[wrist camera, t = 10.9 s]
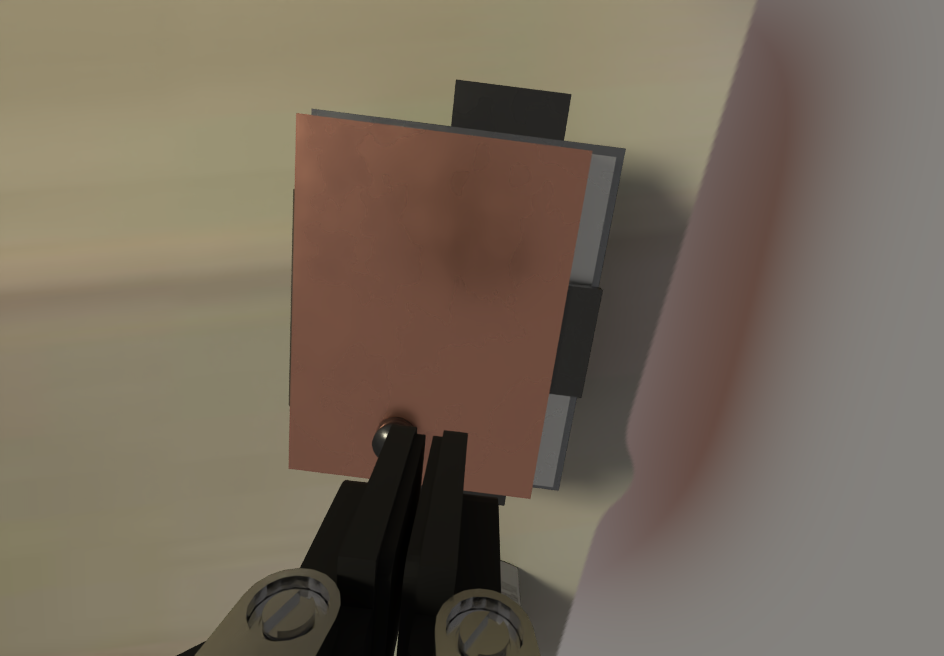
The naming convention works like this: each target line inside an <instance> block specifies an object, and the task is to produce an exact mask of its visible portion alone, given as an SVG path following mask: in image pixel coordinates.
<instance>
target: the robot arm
mask: <svg viewBox="0 0 944 656" xmlns="http://www.w3.org/2000/svg"><path fill="white" fill-rule="evenodd" d="M425 441H426V435H424V434H417V427H413V426H404V425H395V424H392V425H391V427H390V430H389V432H388V435H387V437H386V440H385V442H384V445H383V447H382V450H381V452H380V454H379V457H378V459H377V462H376V464H375V467H374V469H373V472H372V474H371V476H370V479H369V481H368V483H367V482H358V481H349V480H345V481H343V483H342V484H341V486H340V488H339V490H338V492H337V494H336V496H335V498H334V500H333V502H332V504H331V506H330V508H329V510H328V512H327V514H326V516H325V518H324V520H323V522H322V524H321V526H320V528H319V530H318V532H317V535H316V537H315V539H314V541H313V543H312V545H311V547H310V549H309V551H308V553H307V555H306V557H305V559H304V561H303V563H302V565H301V567H300V568H295V569H287V570H282V571H279V572H277V573H274V574H271V575H268V576H267V577H265V578H263V579H262V580H260V581H258V582H257V583H255V584H254V585H253V586H252V587H251V588H250V589H249V590H248V591H247V592H246V593H245V594H244V595H243V596H242V597H241V598H240V600H239V601H238V602H237V603H236V605H235V606H234V607H233V608H232V610H231V611H230V612H229V613H228V615H227V616H226V617H225V618H224V619H223V621H222V622H221V623H220V624H219V626H218V627H217V628H216V629H215V631H214V632H213V633H212V634H211V636H210V637H209V638H208V639H207V641H205V642H203V643H201V644H199V645H197V646H195V647H193V648H191V649H189V650H187V651H185V652H183V653H181V654H179V655H177V656H394V651H395V646H396V641H397V636H398V645H397V656H541V655H540V651H539V648H538V644H537V640H536V636H535V633H534V629H533V626H532V624H531V622H530V620H529V617H528V615H527V614H526V613H525V611H524V610H523V609H522V608H521V607H520V606H519V604H518V603H516V602H515V601H513V600H512V599H510V598H509V597H508V596H506V595H504V594H501V568H500V537H499V505H498V498H497V497H488V496H479V495H471V494H463V489H464V477H465V465H466V453H467V441H468V433H465V432H456V431H447V430H444V432H443V437H442V436H433V439H432V443H431V448H430V452H429V457H428V461H427V466H426V470H425V475H424V479H423V484H422V473H423V462H424V452H425ZM421 484H422V488H421ZM398 631H399V634H398Z"/></svg>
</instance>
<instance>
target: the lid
mask: <svg viewBox="0 0 944 656" xmlns="http://www.w3.org/2000/svg"><path fill="white" fill-rule="evenodd" d="M592 152H593V151H589V150H582V149H574V148H566V147H558V146H550V145H542V144H535V143H527V142H519V141H511V140H503V139H495V138H488V137H480V136H472V135H464V134H456V133H448V132H441V131H433V130H425V129H417V128H409V127H401V126H394V125H386V124H378V123H370V122H362V121H354V120H347V119H339V118H331V117H323V116H315V115H307V114H300V113H296V156H295V189H293V228H292V275H291V323H290V370H289V406H290V430H289V469H296V470H304V471H312V472H320V473H328V474H336V475H344V476H352V477H360V478H368V479H370V476H371V474H372V472H373V469H374V467H375V464H376V462H377V459H378V457H379V454H380V452H381V450H382V447H383V445H384V442H385V440H386V437H387V435H388V432H389V430H390V427H391V425H392V424H395V425H404V426H413V427H417V434H424V435H426V441H425V452H424V462H423V473H422V484H423V479H424V475H425V470H426V466H427V461H428V457H429V452H430V448H431V443H432V439H433V436H442V437H443V432H444V430H447V431H456V432H465V433H468V441H467V453H466V465H465V477H464V489H463V490H464V491H472V492H480V493H488V494H496V495H504V496H512V497H520V498H528V499H530V498H531V492H532V487H533V481H534V475H535V470H536V464H537V459H538V453H539V448H540V442H541V436H542V431H543V425H544V420H545V414H546V408H547V403H548V397H549V394H555V395H563V396H571V397H579V398H581V397H582V392H583V387H584V382H585V377H586V372H587V367H588V362H589V357H590V352H591V347H592V342H593V336H594V331H595V326H596V321H597V316H598V311H599V306H600V301H601V296H602V291H603V290H602V289H601V288H600V287H594V286H587V285H579V284H571V283H569V280H570V275H571V269H572V263H573V258H574V252H575V247H576V241H577V236H578V230H579V224H580V219H581V213H582V208H583V202H584V196H585V191H586V185H587V180H588V174H589V169H590V163H591V157H592ZM422 484H421V485H422Z"/></svg>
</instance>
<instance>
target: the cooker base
mask: <svg viewBox="0 0 944 656" xmlns="http://www.w3.org/2000/svg"><path fill="white" fill-rule="evenodd" d="M570 100H571V94H565V93H557V92H549V91H542V90H534V89H526V88H518V87H510V86H502V85H494V84H487V83H479V82H471V81H463V80H456V85H455V95H454V104H453V114H452V124H451V126H444V125H436V124H428V123H420V122H412V121H404V120H396V119H389V118H381V117H373V116H365V115H357V114H349V113H341V112H334V111H326V110H318V109H312V115H315V116H323V117H331V118H339V119H347V120H354V121H362V122H370V123H378V124H386V125H394V126H401V127H409V128H417V129H425V130H433V131H441V132H448V133H456V134H464V135H472V136H480V137H488V138H495V139H503V140H511V141H519V142H527V143H535V144H542V145H550V146H558V147H566V148H574V149H582V150H589V151H593V152H592V157H591V163H590V169H589V174H588V180H587V185H586V191H585V196H584V202H583V208H582V213H581V219H580V224H579V230H578V236H577V241H576V247H575V252H574V258H573V263H572V269H571V275H570V280H569V283H571V284H579V285H587V286H594V287H599V282H600V277H601V272H602V267H603V262H604V257H605V252H606V247H607V242H608V237H609V231H610V226H611V221H612V216H613V211H614V206H615V201H616V196H617V191H618V186H619V181H620V175H621V170H622V165H623V160H624V155H625V150H626V149H624V148H616V147H609V146H601V145H593V144H585V143H577V142H569V141H564V137H565V131H566V124H567V118H568V112H569V106H570ZM576 399H577V397H571V396H563V395H555V394H549V397H548V403H547V408H546V414H545V420H544V425H543V431H542V436H541V442H540V448H539V453H538V459H537V464H536V470H535V475H534V481H533V487H534V488H542V489H550V490H558V491H559V486H560V481H561V476H562V471H563V465H564V460H565V455H566V450H567V445H568V440H569V435H570V430H571V425H572V420H573V415H574V409H575V404H576ZM421 488H422V485H421ZM463 494H471V495H479V496H488V497H497V498H498V505H503V506H504V505H505V498H506V496H504V495H496V494H488V493H480V492H472V491H464V490H463Z"/></svg>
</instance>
